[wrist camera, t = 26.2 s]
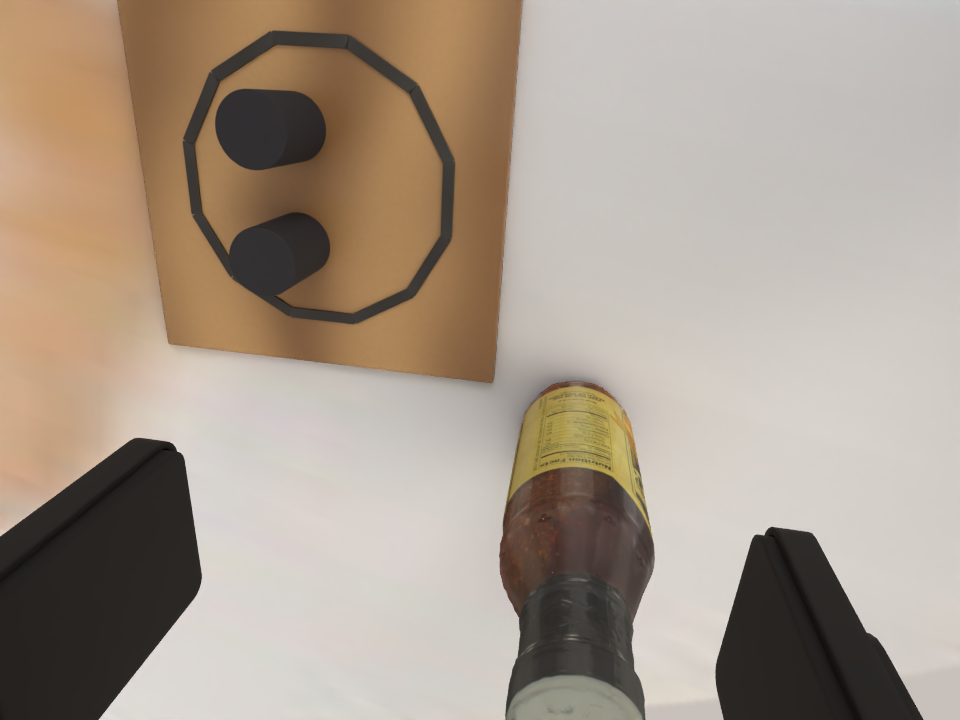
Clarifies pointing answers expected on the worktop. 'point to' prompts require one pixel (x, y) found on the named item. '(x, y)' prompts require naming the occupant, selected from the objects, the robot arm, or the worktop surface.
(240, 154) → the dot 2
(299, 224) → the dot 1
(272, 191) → the board
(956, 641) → the worktop surface
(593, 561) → the sauce bottle
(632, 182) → the worktop surface
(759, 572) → the robot arm
